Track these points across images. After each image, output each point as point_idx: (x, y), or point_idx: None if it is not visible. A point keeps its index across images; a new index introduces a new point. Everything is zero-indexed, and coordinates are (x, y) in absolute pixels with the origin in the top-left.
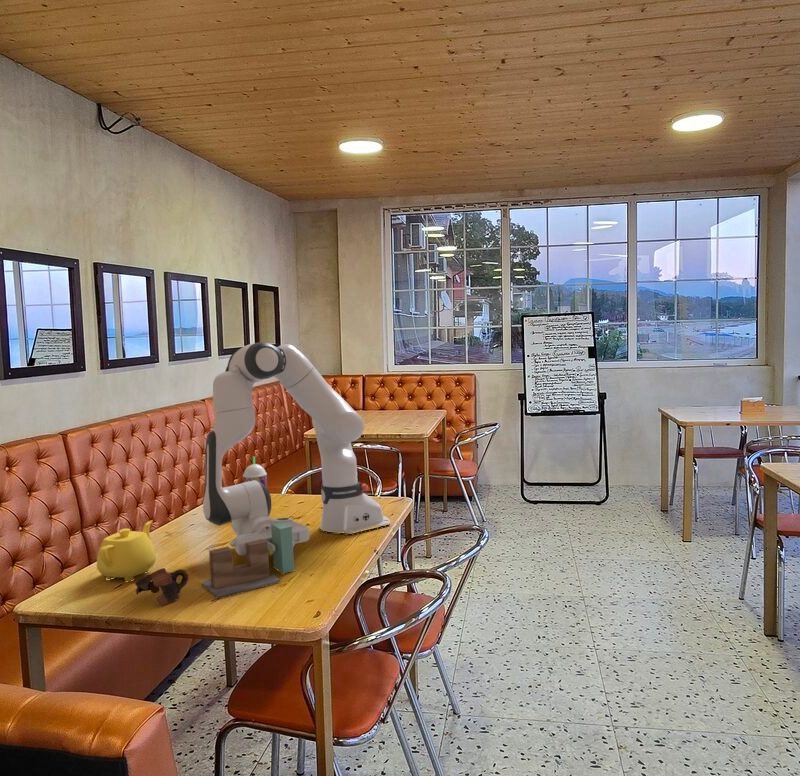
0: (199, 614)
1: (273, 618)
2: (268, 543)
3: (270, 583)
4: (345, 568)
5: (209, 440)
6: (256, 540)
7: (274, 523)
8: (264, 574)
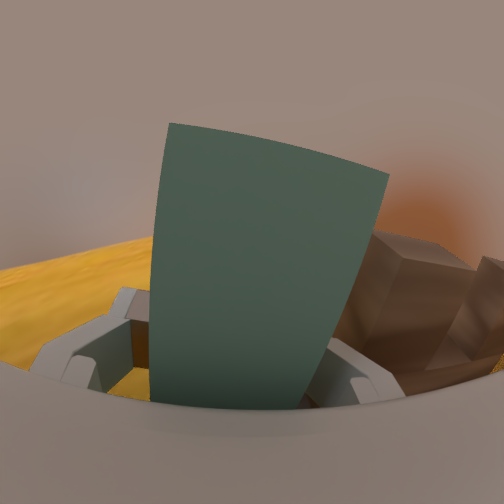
0: None
1: None
2: (346, 345)
3: None
4: (38, 286)
5: None
6: (433, 260)
7: (332, 156)
8: None
